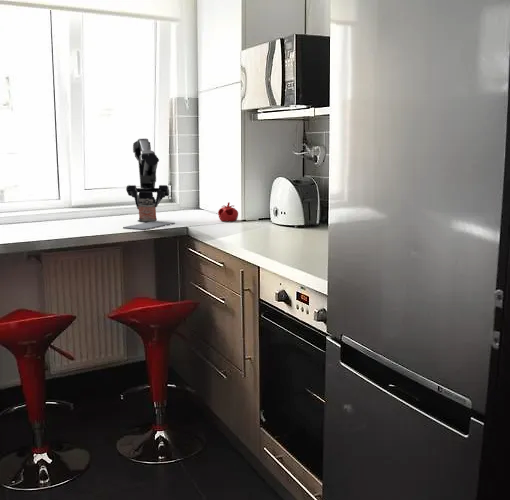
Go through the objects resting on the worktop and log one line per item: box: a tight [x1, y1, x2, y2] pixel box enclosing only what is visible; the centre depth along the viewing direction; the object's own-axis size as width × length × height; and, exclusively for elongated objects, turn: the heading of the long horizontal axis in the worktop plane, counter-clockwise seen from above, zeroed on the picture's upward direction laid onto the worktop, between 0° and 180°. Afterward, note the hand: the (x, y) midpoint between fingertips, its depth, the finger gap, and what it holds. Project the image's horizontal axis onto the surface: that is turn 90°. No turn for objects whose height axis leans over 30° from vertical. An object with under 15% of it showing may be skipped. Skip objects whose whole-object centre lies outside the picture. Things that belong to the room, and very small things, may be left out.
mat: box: [122, 220, 176, 231], centre depth 285 cm, size 13×22×1 cm, turn 148°
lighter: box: [138, 198, 158, 222], centre depth 270 cm, size 8×3×10 cm, turn 85°
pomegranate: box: [217, 202, 239, 222], centre depth 297 cm, size 10×10×9 cm
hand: (146, 207), depth 268 cm, fingers closed on lighter, 8 cm apart
